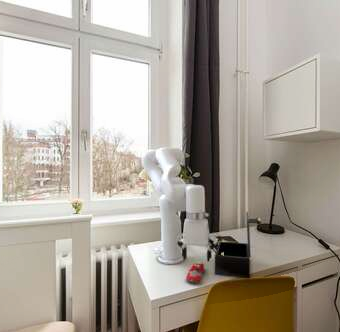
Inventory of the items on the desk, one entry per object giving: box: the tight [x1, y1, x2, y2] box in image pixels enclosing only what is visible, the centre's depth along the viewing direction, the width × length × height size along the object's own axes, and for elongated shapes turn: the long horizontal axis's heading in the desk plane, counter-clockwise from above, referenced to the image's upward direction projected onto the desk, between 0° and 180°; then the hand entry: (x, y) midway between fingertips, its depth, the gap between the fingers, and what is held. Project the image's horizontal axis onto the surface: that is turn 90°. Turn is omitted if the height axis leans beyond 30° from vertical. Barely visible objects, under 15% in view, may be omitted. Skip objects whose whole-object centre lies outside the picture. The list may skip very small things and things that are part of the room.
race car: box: [185, 262, 206, 284], centre depth 87 cm, size 13×5×4 cm, turn 162°
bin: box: [214, 240, 251, 279], centre depth 95 cm, size 14×18×8 cm
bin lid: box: [245, 211, 262, 258], centre depth 93 cm, size 14×18×6 cm
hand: (196, 259), depth 87 cm, fingers open, 9 cm apart
